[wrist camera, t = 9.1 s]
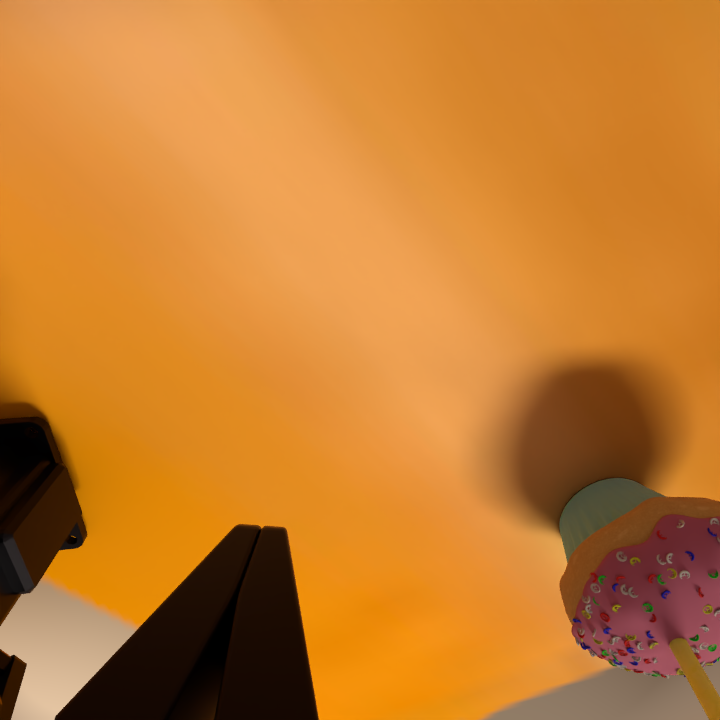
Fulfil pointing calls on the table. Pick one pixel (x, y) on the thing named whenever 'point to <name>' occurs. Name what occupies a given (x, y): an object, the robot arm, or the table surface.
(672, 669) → the cupcake
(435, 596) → the table surface
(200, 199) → the table surface
